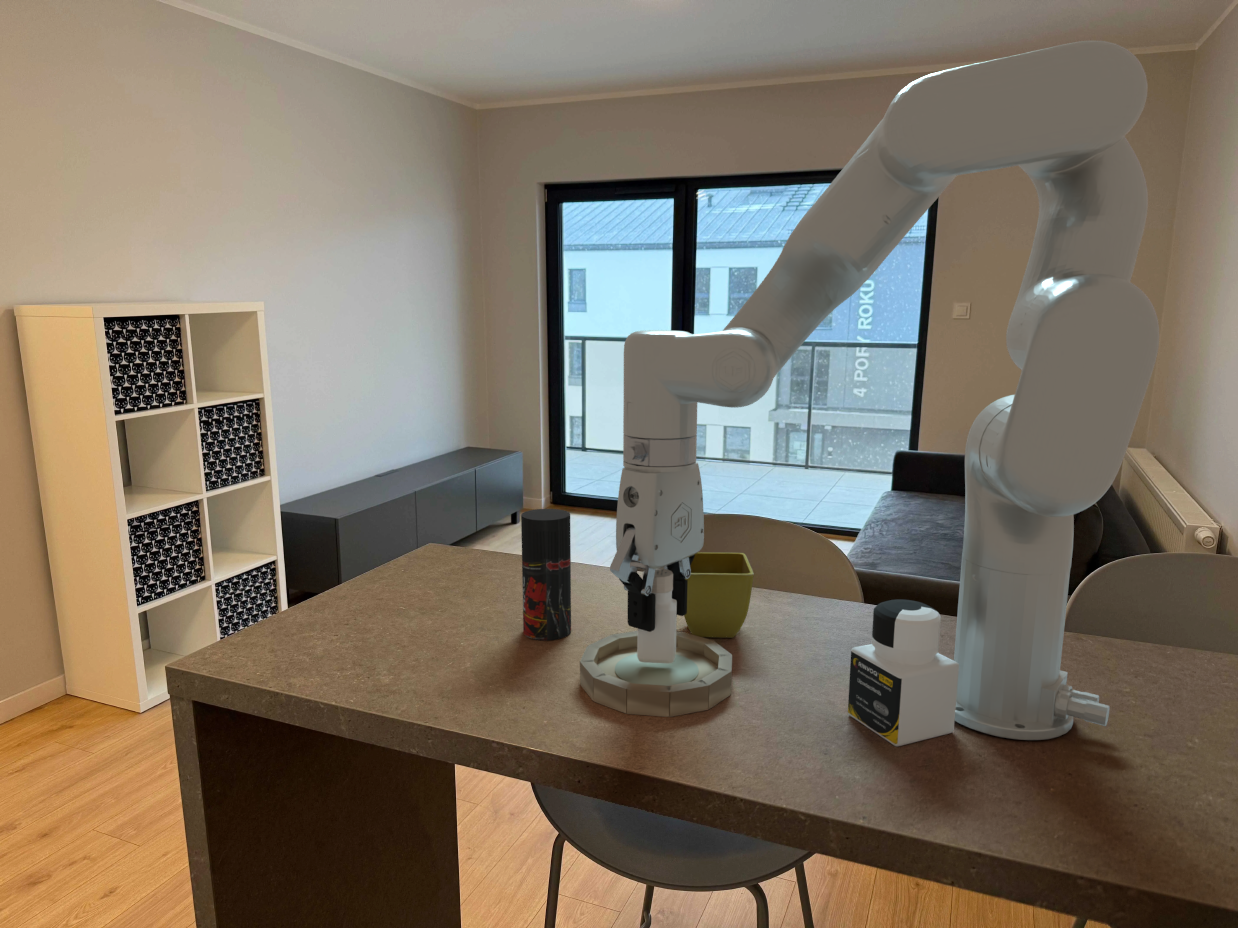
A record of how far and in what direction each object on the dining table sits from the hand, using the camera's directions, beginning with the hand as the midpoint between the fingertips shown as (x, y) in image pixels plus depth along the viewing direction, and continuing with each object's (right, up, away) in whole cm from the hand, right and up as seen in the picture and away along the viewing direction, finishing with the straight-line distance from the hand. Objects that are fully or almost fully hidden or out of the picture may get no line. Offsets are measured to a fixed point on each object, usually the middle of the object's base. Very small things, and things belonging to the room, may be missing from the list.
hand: (657, 618), depth 89 cm
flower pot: (+8, -5, +15) cm, 18 cm away
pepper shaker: (0, -5, +1) cm, 5 cm away
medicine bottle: (+23, -9, -8) cm, 26 cm away
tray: (0, -7, +1) cm, 7 cm away
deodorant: (-13, -5, +15) cm, 21 cm away
